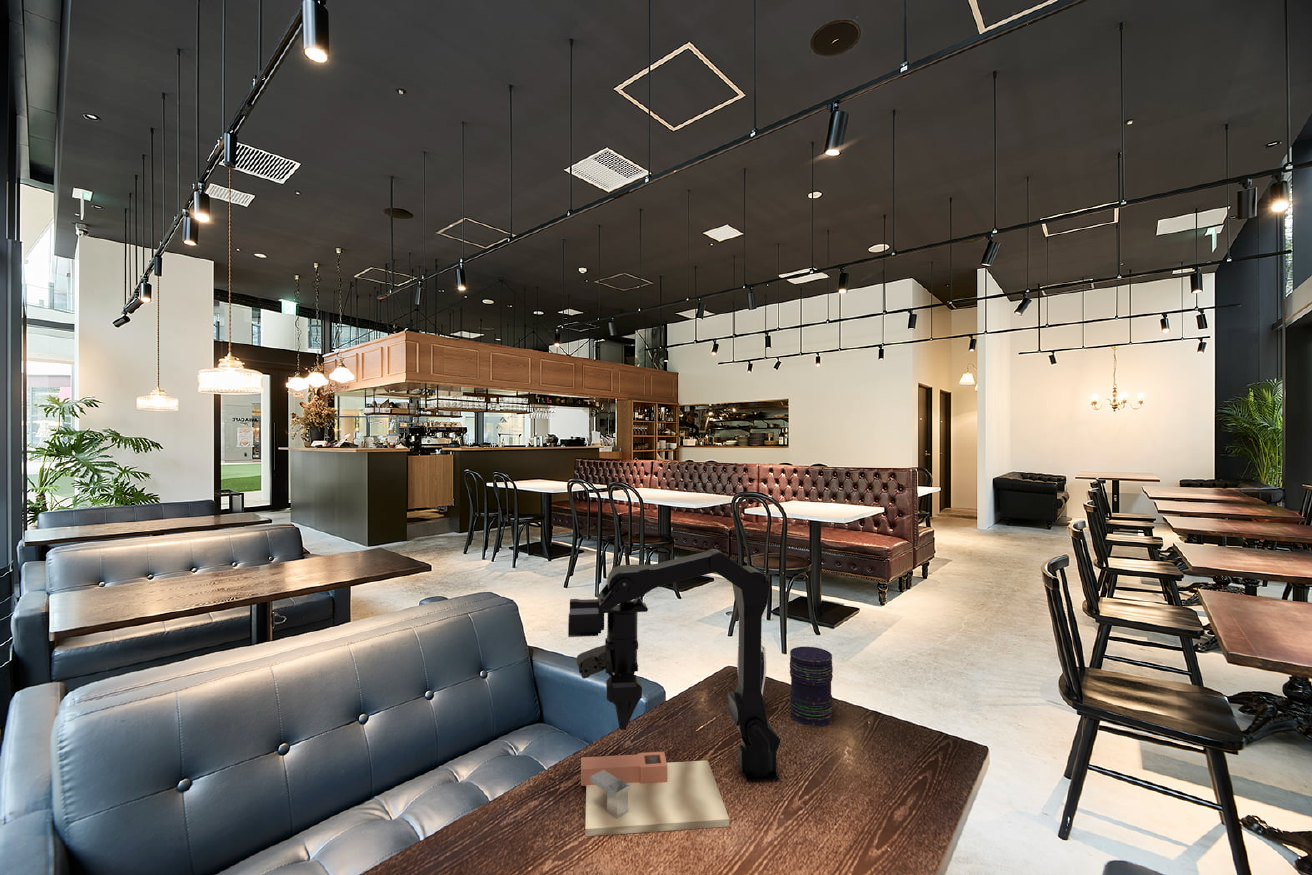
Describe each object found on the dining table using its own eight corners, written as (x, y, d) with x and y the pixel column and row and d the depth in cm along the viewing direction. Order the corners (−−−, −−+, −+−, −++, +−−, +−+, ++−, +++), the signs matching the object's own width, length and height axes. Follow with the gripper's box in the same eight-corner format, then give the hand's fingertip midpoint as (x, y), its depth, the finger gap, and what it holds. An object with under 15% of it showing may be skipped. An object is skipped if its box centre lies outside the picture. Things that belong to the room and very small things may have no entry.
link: (663, 766, 110) (664, 751, 111) (667, 781, 106) (667, 765, 106) (581, 771, 109) (581, 755, 109) (580, 787, 104) (580, 770, 104)
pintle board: (707, 766, 113) (707, 743, 113) (729, 826, 95) (729, 799, 95) (586, 773, 110) (586, 750, 110) (585, 836, 92) (585, 808, 92)
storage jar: (782, 709, 138) (782, 647, 138) (818, 705, 140) (818, 644, 140) (802, 729, 128) (802, 662, 128) (841, 724, 130) (841, 659, 131)
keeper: (603, 794, 102) (603, 769, 102) (629, 811, 97) (629, 785, 97) (590, 801, 100) (590, 776, 100) (616, 819, 95) (616, 792, 95)
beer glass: (766, 717, 133) (766, 653, 134) (736, 715, 135) (736, 651, 135) (766, 704, 140) (766, 643, 140) (737, 702, 142) (738, 641, 142)
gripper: (580, 620, 116) (579, 697, 116) (578, 653, 97) (577, 745, 97) (634, 619, 117) (634, 695, 117) (642, 651, 99) (641, 741, 98)
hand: (621, 717), depth 107 cm, fingers open, 9 cm apart
